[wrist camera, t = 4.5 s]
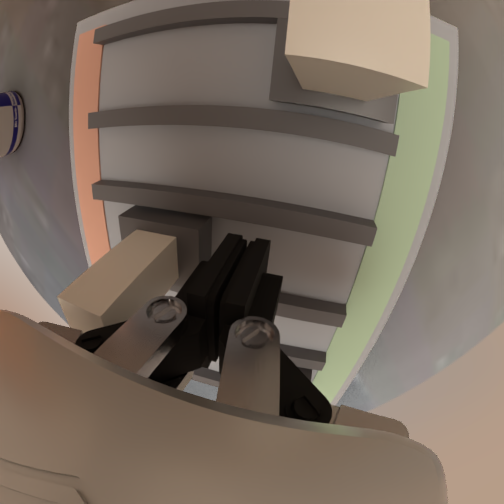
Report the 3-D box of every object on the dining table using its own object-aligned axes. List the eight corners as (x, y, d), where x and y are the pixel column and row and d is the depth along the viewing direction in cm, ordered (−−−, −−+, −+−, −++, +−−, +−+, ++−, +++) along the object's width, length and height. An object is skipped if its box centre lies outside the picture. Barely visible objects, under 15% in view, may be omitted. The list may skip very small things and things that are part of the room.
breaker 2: (283, 30, 7) (231, -65, 2) (390, 51, 7) (477, -12, 1) (275, 102, 9) (209, 83, 3) (382, 122, 8) (477, 143, 3)
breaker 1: (136, 204, 12) (36, 276, 7) (212, 215, 12) (124, 314, 6) (142, 256, 14) (63, 338, 8) (211, 273, 13) (146, 379, 8)
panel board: (91, 24, 9) (67, 21, 7) (446, 33, 6) (466, 24, 4) (123, 341, 21) (111, 357, 19) (333, 396, 18) (331, 417, 16)
